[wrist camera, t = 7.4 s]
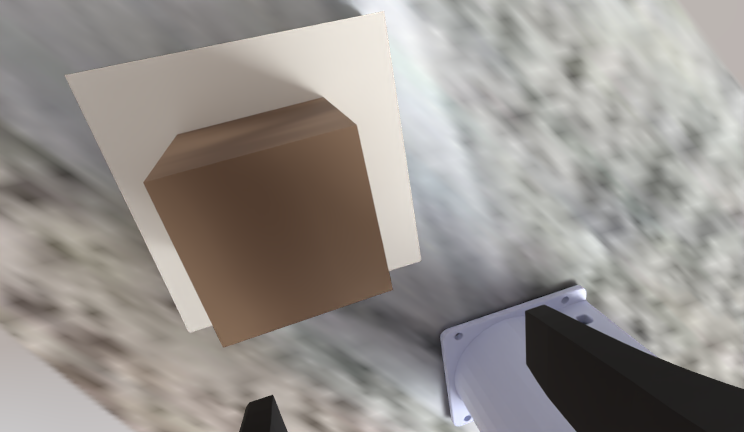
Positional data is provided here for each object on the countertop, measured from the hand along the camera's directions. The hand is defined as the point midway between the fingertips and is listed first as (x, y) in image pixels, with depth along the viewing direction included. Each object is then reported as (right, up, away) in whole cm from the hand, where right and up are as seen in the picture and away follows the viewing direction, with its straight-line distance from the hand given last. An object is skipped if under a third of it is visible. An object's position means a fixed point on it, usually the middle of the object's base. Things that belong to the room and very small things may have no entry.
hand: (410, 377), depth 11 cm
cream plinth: (-5, +7, +7) cm, 11 cm away
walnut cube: (-5, +6, +4) cm, 8 cm away
